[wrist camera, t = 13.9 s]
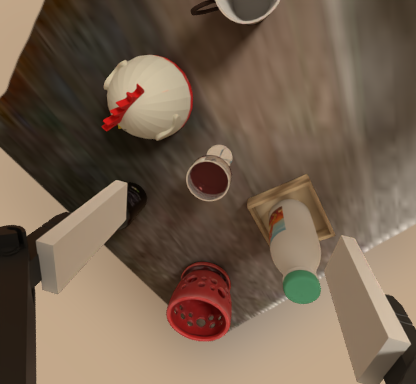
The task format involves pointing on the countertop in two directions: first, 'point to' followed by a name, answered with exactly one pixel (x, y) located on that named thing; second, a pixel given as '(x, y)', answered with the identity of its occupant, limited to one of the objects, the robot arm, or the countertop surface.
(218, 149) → the wineglass
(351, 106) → the countertop surface
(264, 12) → the coffee mug
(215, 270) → the plant pot
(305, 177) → the wooden tray
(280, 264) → the milk bottle
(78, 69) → the countertop surface
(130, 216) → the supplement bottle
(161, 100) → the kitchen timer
